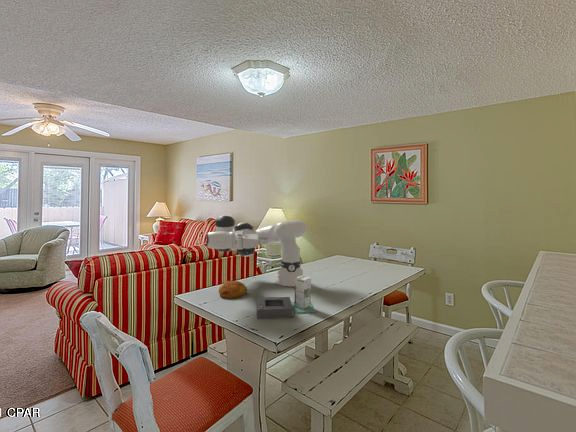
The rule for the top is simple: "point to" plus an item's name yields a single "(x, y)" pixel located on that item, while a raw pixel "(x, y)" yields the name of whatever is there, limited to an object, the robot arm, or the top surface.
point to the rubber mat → (306, 310)
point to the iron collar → (274, 307)
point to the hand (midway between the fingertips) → (267, 240)
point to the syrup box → (302, 292)
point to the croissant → (232, 289)
